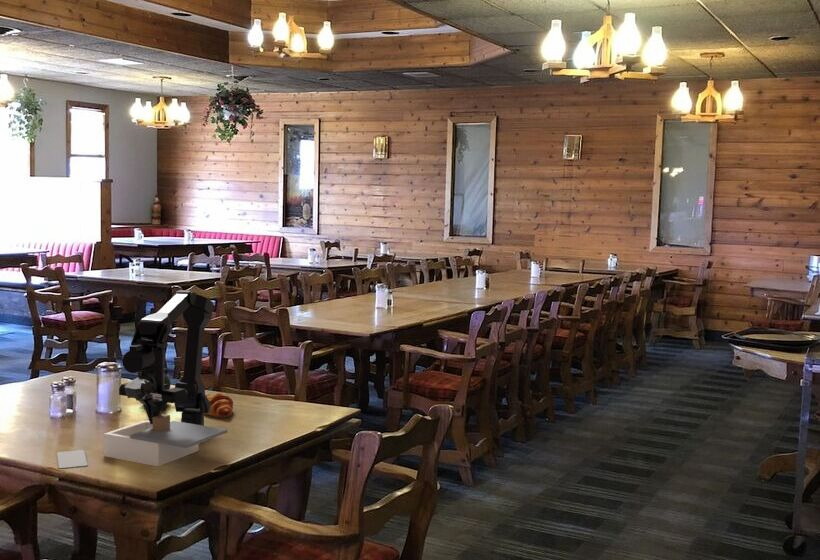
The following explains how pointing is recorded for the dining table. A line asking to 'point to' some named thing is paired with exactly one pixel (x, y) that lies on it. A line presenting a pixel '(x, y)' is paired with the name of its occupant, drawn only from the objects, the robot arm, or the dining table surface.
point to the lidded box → (141, 447)
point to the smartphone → (71, 459)
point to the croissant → (220, 405)
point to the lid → (177, 432)
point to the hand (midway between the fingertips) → (152, 424)
